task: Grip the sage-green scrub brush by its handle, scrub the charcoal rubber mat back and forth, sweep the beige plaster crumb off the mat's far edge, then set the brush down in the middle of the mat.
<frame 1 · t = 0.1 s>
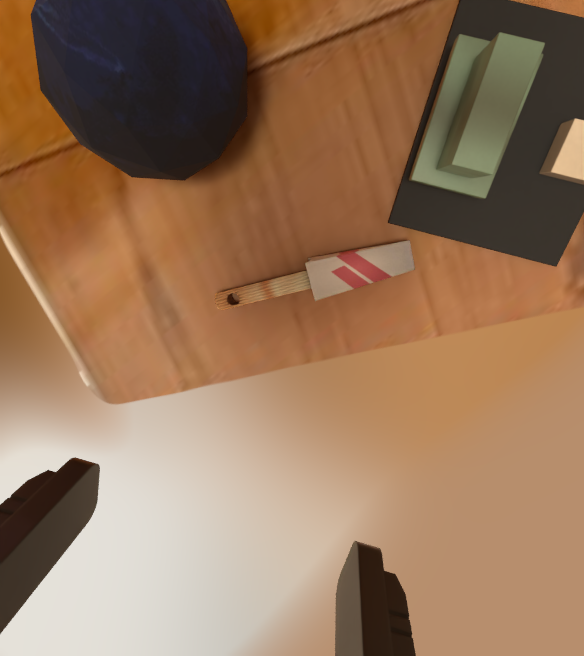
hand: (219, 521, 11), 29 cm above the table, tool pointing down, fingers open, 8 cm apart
plaster crumb: (572, 154, 31), point 1 cm above the table, touching mat
decorative orb: (188, 99, 34), on the table
scrub brush: (462, 127, 32), point 1 cm above the table, touching mat
paintbrush: (310, 276, 38), on the table
mat: (511, 141, 32), on the table
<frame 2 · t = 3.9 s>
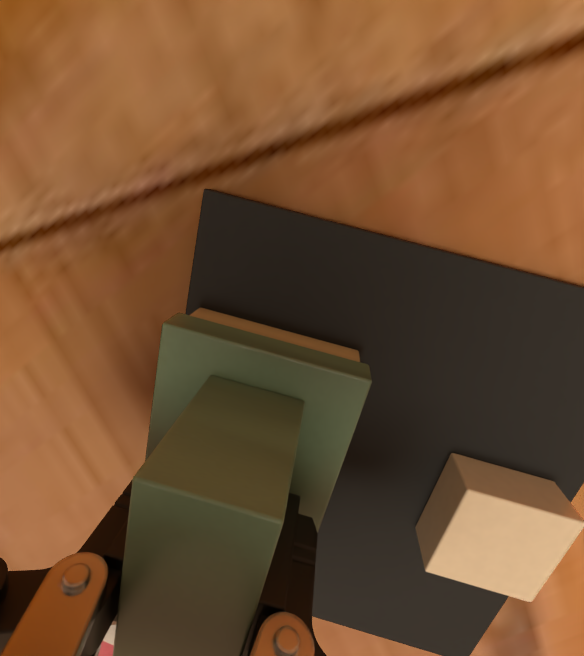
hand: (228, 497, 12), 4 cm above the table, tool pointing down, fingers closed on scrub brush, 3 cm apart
plaster crumb: (480, 505, 15), point 1 cm above the table, touching mat
scrub brush: (251, 439, 15), point 1 cm above the table, touching gripper, mat
paintbrush: (46, 608, 22), on the table
mat: (358, 460, 15), on the table
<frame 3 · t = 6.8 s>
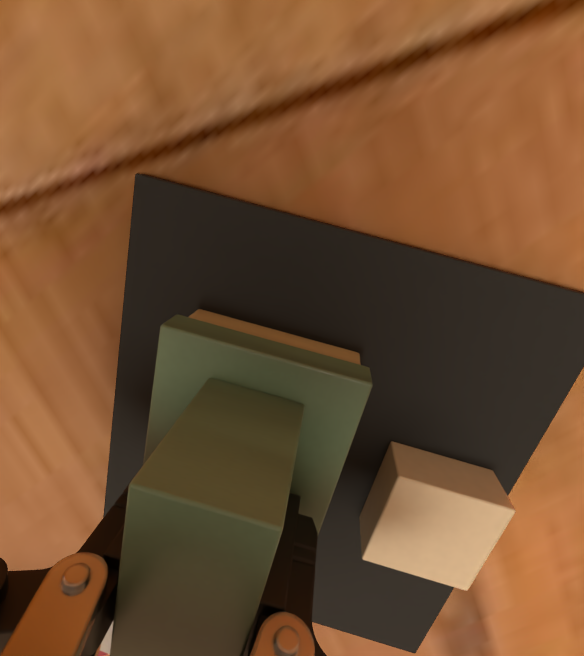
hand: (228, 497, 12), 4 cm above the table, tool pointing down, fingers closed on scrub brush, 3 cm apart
plaster crumb: (422, 494, 15), point 1 cm above the table, touching mat
scrub brush: (250, 442, 15), point 1 cm above the table, touching gripper, mat
paintbrush: (5, 599, 22), on the table
mat: (303, 449, 15), on the table
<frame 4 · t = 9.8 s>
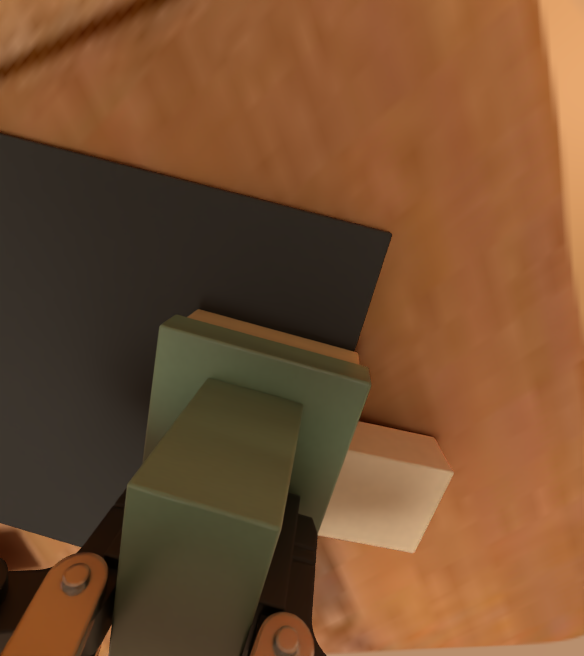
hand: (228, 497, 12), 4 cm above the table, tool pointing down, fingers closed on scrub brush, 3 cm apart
plaster crumb: (370, 466, 15), on the table, tilted 7°, touching scrub brush
scrub brush: (250, 442, 15), point 1 cm above the table, touching gripper, plaster crumb
mat: (138, 397, 16), on the table
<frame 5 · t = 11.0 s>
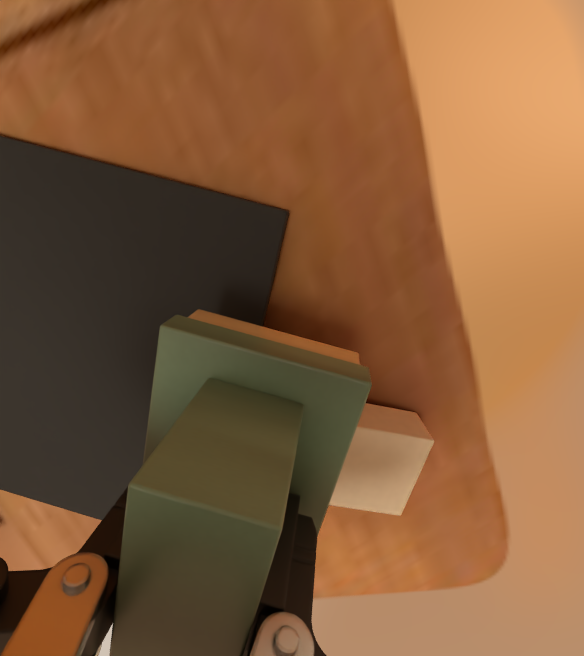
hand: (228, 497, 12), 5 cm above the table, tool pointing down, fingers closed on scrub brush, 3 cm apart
plaster crumb: (360, 441, 17), on the table, tilted 10°
scrub brush: (250, 442, 15), point 2 cm above the table, touching gripper
mat: (84, 360, 18), on the table
when the fingers open (4 cm above the table, at t = 14.5 s): scrub brush stays where it is, resting on mat.
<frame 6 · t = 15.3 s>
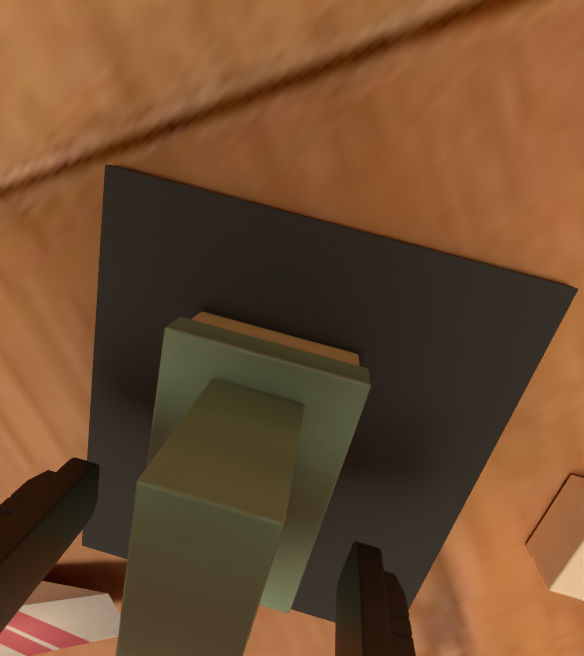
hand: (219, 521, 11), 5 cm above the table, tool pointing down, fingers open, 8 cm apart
scrub brush: (252, 441, 15), point 1 cm above the table, touching mat
mat: (277, 437, 16), on the table
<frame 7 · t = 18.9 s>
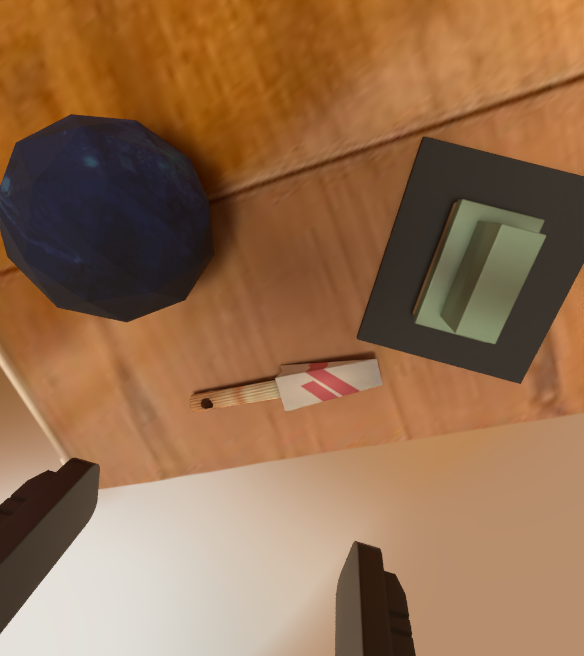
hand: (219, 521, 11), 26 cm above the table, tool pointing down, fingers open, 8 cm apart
decorative orb: (160, 220, 35), on the table
scrub brush: (465, 269, 32), point 1 cm above the table, touching mat
paintbrush: (282, 381, 39), on the table
mat: (474, 269, 33), on the table
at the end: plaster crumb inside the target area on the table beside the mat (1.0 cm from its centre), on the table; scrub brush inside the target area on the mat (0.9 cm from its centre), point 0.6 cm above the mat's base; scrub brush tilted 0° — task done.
